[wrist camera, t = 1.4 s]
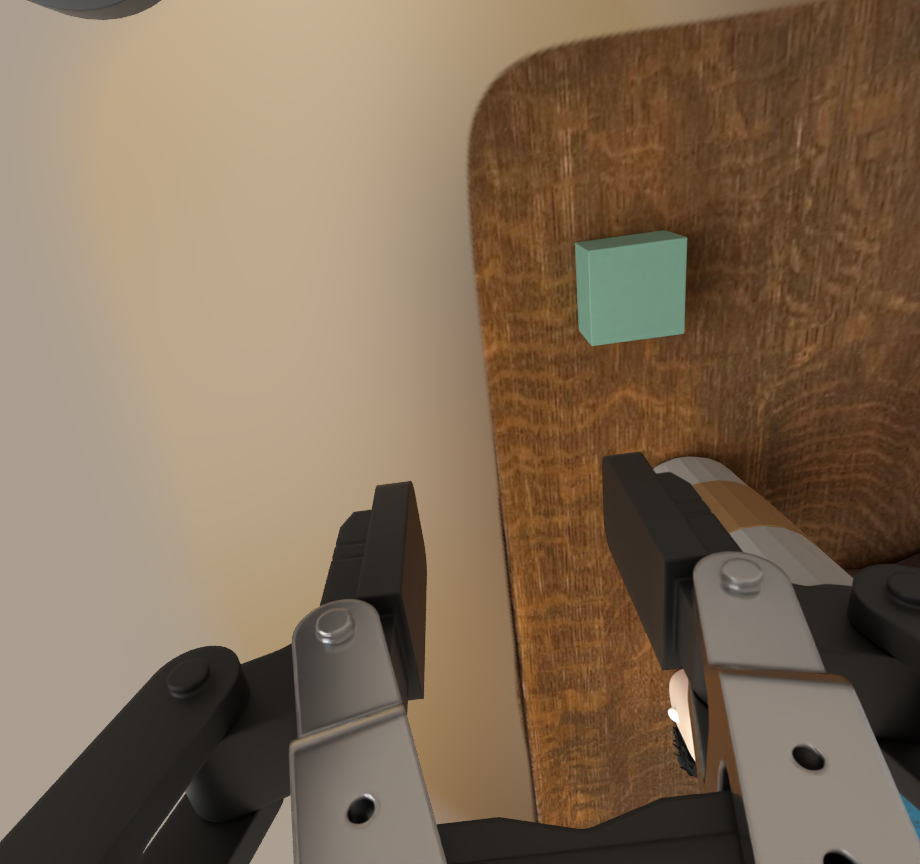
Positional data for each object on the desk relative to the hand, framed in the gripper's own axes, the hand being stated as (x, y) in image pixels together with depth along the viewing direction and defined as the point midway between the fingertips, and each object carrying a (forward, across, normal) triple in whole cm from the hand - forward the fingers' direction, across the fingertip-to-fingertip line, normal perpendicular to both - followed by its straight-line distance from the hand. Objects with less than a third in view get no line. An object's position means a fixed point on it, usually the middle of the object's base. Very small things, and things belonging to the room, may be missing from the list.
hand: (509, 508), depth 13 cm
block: (+19, -8, 0) cm, 21 cm away
